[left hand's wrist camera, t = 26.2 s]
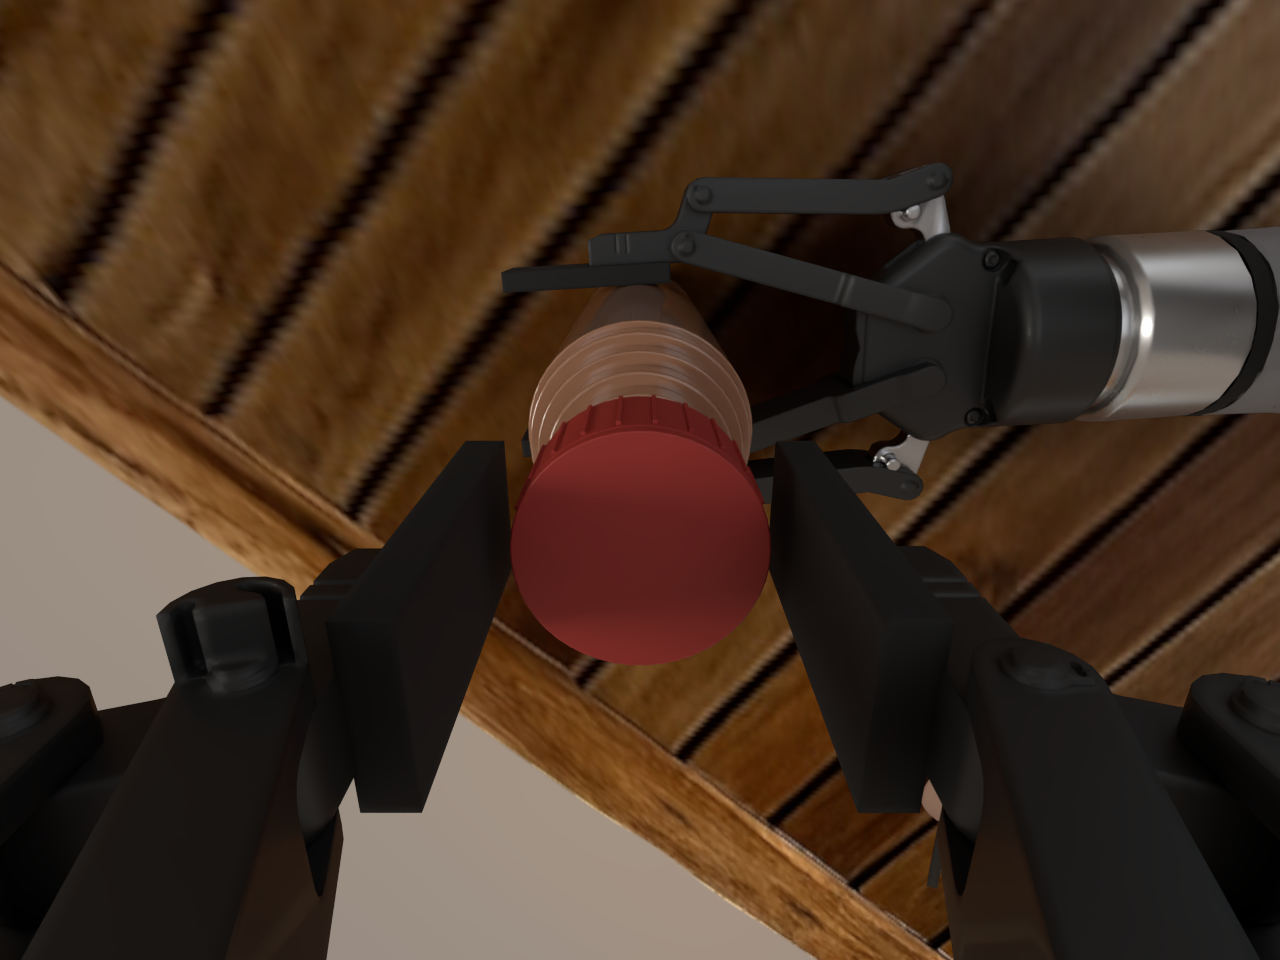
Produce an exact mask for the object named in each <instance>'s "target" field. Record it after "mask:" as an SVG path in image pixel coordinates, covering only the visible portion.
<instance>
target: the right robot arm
mask: <svg viewBox="0 0 1280 960" xmlns="http://www.w3.org/2000/svg"><path fill="white" fill-rule="evenodd" d="M952 182H953V173H952V171H951V169H950V168H949V167H948V166H947V165H946V164H943V163H935V164H929V165H923V166H918V167H913V168H909V169H906V170H903V171H900V172H898V173H895V174H892V175H890V176H887V177H884V178H881V179H879V180H857V179H788V178H720V177H703V178H698V179H696V180H694V181H693V182H691V183H690V184H689V185H688V186H687V187H686V189H685V190H684V195H683V198H682V202H681V205H680V208H679V212H678V215H677V217H676V220H675V221H674V223H673V224H672V225H671V226H670V227H668V228H666V229H664V230H658V231H641V232H624V233H606V234H600V235H598V236H596V237H594V238H592V239H590V240H588V251H589V264H572V265H554V266H537V267H519V268H512V269H509V270H506V271H504V272H501V275H502V284H503V292H504V293H507V292H524V291H542V290H559V289H577V288H595V287H612V286H630V285H647V284H665V283H671V276H670V263H680V262H683V263H686V264H690V265H694V266H697V267H701V268H705V269H708V270H712V271H716V272H719V273H723V274H727V275H730V276H734V277H738V278H741V279H745V280H749V281H753V282H756V283H760V284H764V285H767V286H771V287H775V288H778V289H782V290H786V291H789V292H793V293H797V294H800V295H804V296H808V297H811V298H815V299H819V300H822V301H826V302H830V303H833V304H837V305H840V306H843V315H842V324H843V328H844V333H845V337H846V343H845V346H844V349H843V352H842V355H841V359H840V371H839V372H836V373H833V374H830V375H828V376H825V377H823V378H821V379H819V380H818V381H817V382H816V383H814V384H812V385H809V386H807V387H804V388H801V389H798V390H796V391H793V392H790V393H787V394H785V395H782V396H779V397H776V398H774V399H771V400H768V401H765V402H763V403H760V404H757V405H754V406H752V407H750V409H751V415H752V440H751V447H750V453H752V452H755V451H758V450H761V449H764V448H766V447H769V446H772V445H775V444H776V441H786V440H789V439H792V438H795V437H798V436H800V435H803V434H806V433H809V432H812V431H815V430H817V429H820V428H823V427H826V426H829V425H832V424H835V423H848V422H852V421H856V420H858V419H861V418H864V417H867V416H870V415H873V414H875V413H877V414H879V415H880V416H882V417H883V418H885V419H886V420H888V421H889V422H891V423H892V424H894V425H895V426H897V427H898V428H900V429H901V431H900V433H899V434H898V435H897V436H896V437H895V438H893V439H891V440H887V441H878V442H876V443H873V444H872V445H871V447H870V449H869V451H866V450H856V449H847V450H836V451H827V452H823V453H824V454H825V456H826V457H827V458H828V459H829V461H830V462H831V463H832V464H833V466H834V467H835V468H836V470H837V471H838V472H839V473H840V475H841V476H842V477H843V479H844V480H845V481H846V482H847V484H848V485H849V486H850V488H851V489H852V490H853V491H854V493H864V492H870V493H875V494H880V495H884V496H889V497H893V498H898V499H902V500H912V499H915V498H916V497H917V496H919V495H920V493H921V492H922V490H923V482H922V480H921V479H920V477H919V476H918V475H917V471H918V469H919V466H920V464H921V461H922V459H923V456H924V454H925V451H926V449H927V446H928V444H929V441H932V440H937V439H939V438H942V437H943V436H945V435H947V434H949V433H951V432H953V431H955V430H958V429H961V428H967V427H997V426H1015V425H1033V424H1052V423H1064V422H1068V421H1071V420H1073V419H1076V420H1078V421H1085V422H1099V421H1113V420H1127V419H1141V418H1155V417H1169V416H1201V415H1212V414H1240V413H1267V412H1269V413H1280V226H1279V227H1267V228H1254V229H1242V230H1230V231H1217V230H1209V231H1204V230H1198V231H1180V232H1161V233H1143V234H1124V235H1105V236H1098V237H1091V238H1089V239H1087V240H1085V241H1084V240H1082V239H1079V238H1073V237H1072V238H1054V239H1037V240H1019V241H1001V242H983V243H977V242H974V241H971V240H969V239H967V238H965V237H963V236H962V235H960V234H957V233H953V232H950V226H949V221H948V215H947V210H946V204H945V198H944V194H946V193H947V191H948V190H949V189H950V188H951V185H952ZM713 213H764V214H833V215H872V214H883V215H884V219H885V221H886V223H887V224H888V225H889V226H891V227H893V228H902V229H905V228H908V229H910V230H912V231H913V232H914V234H915V235H916V238H917V240H916V241H915V242H913V243H912V244H911V245H909V246H908V247H907V248H906V249H904V250H903V251H902V252H900V253H899V254H898V255H896V256H895V257H894V258H893V259H891V260H890V261H889V262H887V263H886V264H885V265H883V266H882V267H881V268H880V269H878V270H877V271H876V272H874V273H873V274H872V275H871V276H869V277H868V278H867V279H865V278H862V277H858V276H854V275H851V274H847V273H843V272H840V271H836V270H833V269H829V268H825V267H822V266H818V265H815V264H811V263H807V262H804V261H800V260H796V259H793V258H789V257H786V256H782V255H778V254H775V253H771V252H767V251H764V250H760V249H757V248H753V247H749V246H746V245H742V244H739V243H735V242H731V241H728V240H724V239H720V238H717V237H713V236H710V235H706V233H707V229H708V226H709V223H710V220H711V217H712V214H713ZM522 448H523V457H532V455H531V449H530V442H529V427H528V429H527V431H526V433H525V435H524V436H523V438H522ZM774 459H775V458H767V459H759V460H750V461H748V463H747V466H749V467H750V469H751V472H752V474H753V476H754V478H755V481H756V483H757V485H758V488H759V490H760V492H761V494H762V497H763V499H764V502H765V504H767V503H771V501H772V487H773V473H774Z"/></svg>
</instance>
